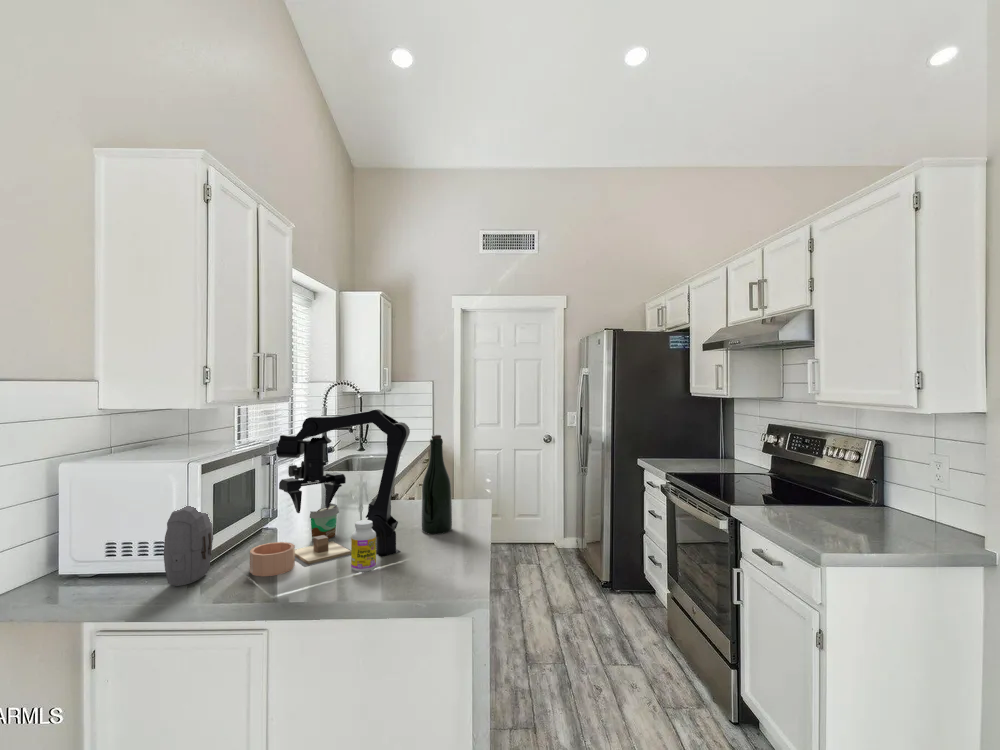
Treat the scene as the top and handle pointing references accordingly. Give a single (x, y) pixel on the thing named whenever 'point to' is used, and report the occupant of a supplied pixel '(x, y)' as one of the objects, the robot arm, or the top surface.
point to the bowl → (272, 559)
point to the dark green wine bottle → (436, 492)
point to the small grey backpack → (187, 546)
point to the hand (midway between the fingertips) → (312, 510)
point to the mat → (319, 561)
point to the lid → (321, 550)
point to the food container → (324, 521)
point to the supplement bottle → (363, 547)
